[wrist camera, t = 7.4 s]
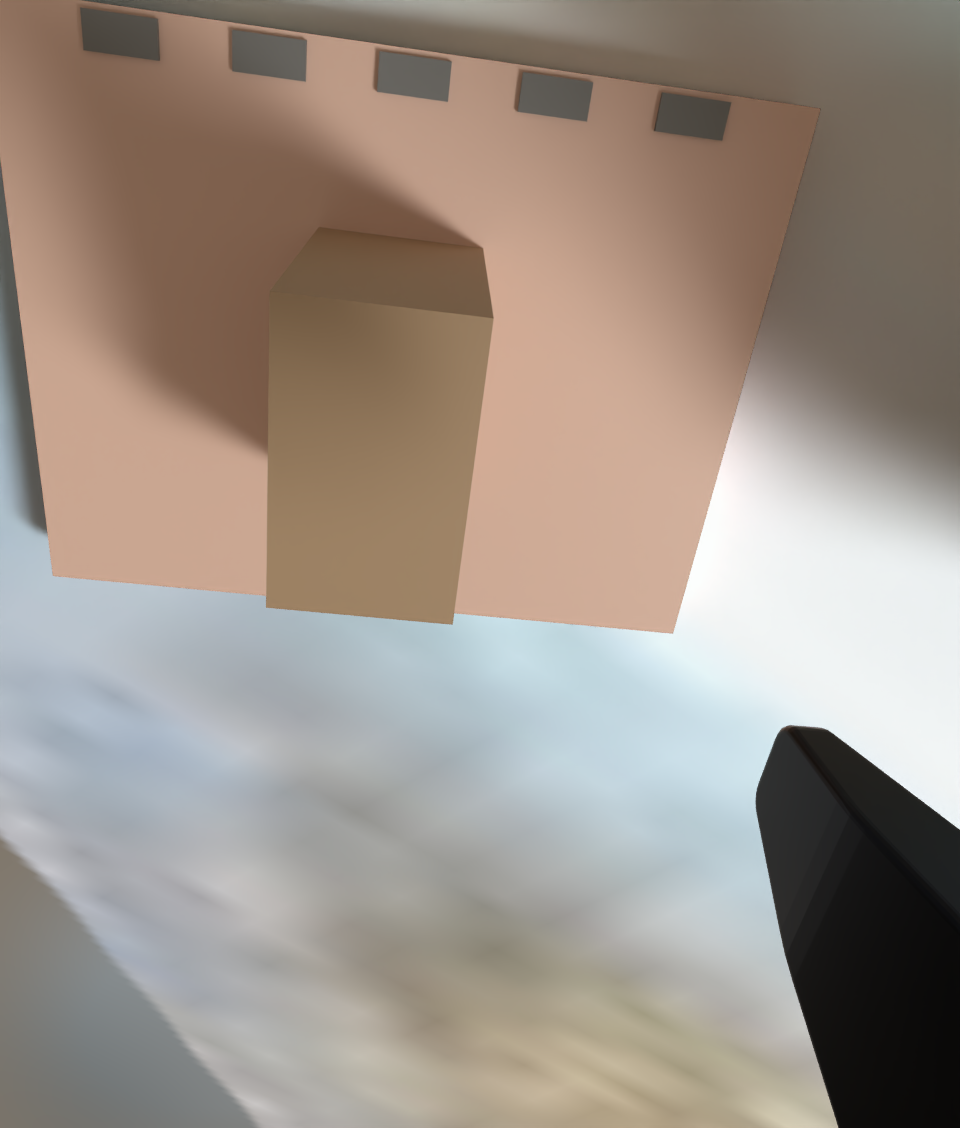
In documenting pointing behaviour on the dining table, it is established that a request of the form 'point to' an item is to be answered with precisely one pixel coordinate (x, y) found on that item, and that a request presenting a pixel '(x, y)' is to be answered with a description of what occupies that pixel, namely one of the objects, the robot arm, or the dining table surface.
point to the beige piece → (380, 314)
